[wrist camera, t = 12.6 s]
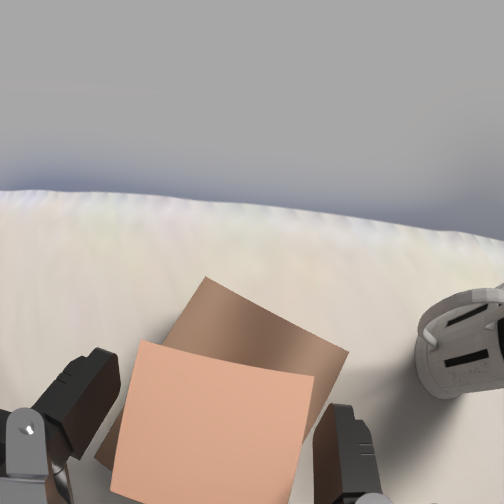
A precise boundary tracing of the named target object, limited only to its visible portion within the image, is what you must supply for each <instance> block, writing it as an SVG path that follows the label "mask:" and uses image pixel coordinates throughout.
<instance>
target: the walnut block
mask: <svg viewBox="0 0 504 504" xmlns="http://www.w3.org/2000/svg"><path fill="white" fill-rule="evenodd" d="M162 346H165V347H169V348H173V349H177V350H180V351H184V352H188V353H192V354H197V355H201V356H205V357H209V358H214V359H218V360H223V361H227V362H232V363H237V364H242V365H247V366H252V367H258V368H263V369H269V370H275V371H281V372H287V373H294V374H301V375H308V376H314V382H313V388H312V394H311V400H310V405H309V411H308V416H307V421H306V426H305V431H304V436H303V441H302V444H303V442H304V440H305V439H306V437H307V435H308V433H309V431H310V430H311V428H312V426H313V424H314V422H315V421H316V419H317V417H318V415H319V413H320V411H321V409H322V407H323V406H324V404H325V402H326V400H327V398H328V396H329V394H330V392H331V390H332V388H333V386H334V384H335V382H336V379H337V377H338V375H339V373H340V371H341V369H342V367H343V365H344V362H345V360H346V358H347V356H348V353H349V352H348V351H346V350H344V349H342V348H340V347H338V346H336V345H334V344H332V343H330V342H328V341H326V340H324V339H322V338H320V337H318V336H316V335H314V334H312V333H310V332H308V331H306V330H304V329H302V328H300V327H298V326H296V325H294V324H292V323H291V322H289V321H287V320H285V319H283V318H281V317H279V316H277V315H275V314H273V313H271V312H270V311H268V310H266V309H264V308H262V307H260V306H258V305H256V304H255V303H253V302H251V301H249V300H247V299H245V298H244V297H242V296H240V295H238V294H236V293H234V292H233V291H231V290H229V289H227V288H225V287H224V286H222V285H220V284H218V283H216V282H215V281H213V280H211V279H209V278H207V277H206V276H205V278H204V279H203V281H202V282H201V284H200V285H199V287H198V289H197V290H196V292H195V293H194V295H193V296H192V298H191V299H190V301H189V303H188V304H187V306H186V307H185V309H184V310H183V312H182V314H181V315H180V317H179V318H178V320H177V321H176V323H175V325H174V326H173V328H172V329H171V331H170V332H169V334H168V336H167V337H166V339H165V340H164V342H163V344H162ZM124 408H125V405H124V407H123V409H122V410H121V412H120V414H119V415H118V417H117V419H116V420H115V422H114V424H113V425H112V427H111V429H110V431H109V432H108V434H107V436H106V437H105V439H104V441H103V442H102V444H101V446H100V448H99V449H98V451H97V453H96V455H95V456H94V458H95V459H97V460H98V461H99V462H101V463H102V464H103V465H104V466H106V467H107V468H109V469H110V470H111V471H113V467H114V461H115V455H116V449H117V443H118V438H119V432H120V427H121V422H122V417H123V412H124Z"/></svg>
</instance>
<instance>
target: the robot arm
mask: <svg viewBox="0 0 504 504" xmlns="http://www.w3.org/2000/svg"><path fill="white" fill-rule="evenodd" d="M120 387H121V381H120V373H119V365H118V357H117V355H116V354H115V353H112V352H109V351H107V350H104V349H101V348H98V347H97V348H95V349H94V350H93V351H92V352H91V354H90V355H89V356H88V357H84V356H80V357H78V358H77V359H75V360H73V361H71V362H70V363H69V364H68V365H67V366H66V367H65V369H64V370H63V372H62V373H60V374H59V376H58V377H57V378H56V380H54V381H53V383H52V384H51V385H50V386H49V387H48V388H47V390H46V391H45V392H44V393H43V394H42V396H41V397H40V398H39V399H38V400H37V402H36V403H35V404H34V405H33V406H32V407H31V408H19V409H17V410H15V411H13V412H9V411H5V410H2V409H0V504H75V503H74V499H73V494H72V490H71V485H70V480H69V474H68V469H67V464H66V461H67V460H68V458H69V456H72V457H74V458H76V459H78V460H80V459H81V457H82V455H83V454H84V452H85V450H86V449H87V447H88V445H89V444H90V442H91V440H92V438H93V437H94V435H95V433H96V432H97V430H98V428H99V427H100V425H101V423H102V422H103V420H104V418H105V417H106V415H107V413H108V412H109V410H110V408H111V407H112V405H113V404H114V402H115V400H116V399H117V397H118V395H119V392H120ZM313 471H314V504H393V503H392V501H391V500H390V499H389V498H388V497H386V496H385V495H383V493H382V490H381V485H380V479H379V474H378V469H377V463H376V458H375V455H374V448H373V446H372V438H371V434H370V431H369V429H368V428H367V426H366V425H365V423H364V422H363V420H355V417H354V412H353V408H352V406H351V405H343V404H332V403H331V404H329V405H328V407H327V409H326V411H325V413H324V414H323V416H322V418H321V420H320V422H319V423H318V425H317V427H316V429H315V432H314V436H313Z"/></svg>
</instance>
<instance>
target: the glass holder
mask: <svg viewBox="0 0 504 504" xmlns="http://www.w3.org/2000/svg"><path fill="white" fill-rule="evenodd" d="M418 334H419V335H418V338H417V342H416V348H415V363H416V369H417V373H418V376H419V379H420V381H421V383H422V385H423V386H424V388H425V389H426V390H427V391H428V392H429V393H430V394H431V395H433V396H434V397H437V398H439V399H453V398H455V397H458V396H460V395H461V394H463V393H470V392H479V391H487V390H494V389H500V388H504V283H503V284H501V285H499V286H498V287H496V288H481V289H472V290H468V291H464V292H460V293H457V294H455V295H452V296H450V297H448V298H446V299H443V300H442V301H440V302H439V303H437V304H435V305H434V306H432V307H430V308H429V309H428V310H427V311H426V312H425V313H424V314H423V315H422V317H421V319H420V321H419V324H418Z"/></svg>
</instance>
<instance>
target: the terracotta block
mask: <svg viewBox="0 0 504 504" xmlns="http://www.w3.org/2000/svg"><path fill="white" fill-rule="evenodd" d="M313 382H314V376H308V375H301V374H294V373H287V372H281V371H275V370H269V369H263V368H258V367H252V366H247V365H242V364H237V363H232V362H227V361H223V360H218V359H214V358H209V357H205V356H201V355H197V354H192V353H188V352H184V351H180V350H177V349H173V348H169V347H165V346H162V345H158V344H155V343H151V342H148V341H144V340H141V341H140V345H139V349H138V353H137V356H136V360H135V364H134V368H133V373H132V377H131V381H130V385H129V390H128V394H127V398H126V403H125V408H124V412H123V417H122V422H121V427H120V432H119V438H118V443H117V449H116V455H115V461H114V467H113V473H112V480H111V487H110V491H112V492H114V493H117V494H119V495H122V496H125V497H127V498H130V499H133V500H136V501H138V502H141V503H144V504H288V500H289V496H290V493H291V489H292V485H293V481H294V476H295V472H296V468H297V464H298V459H299V455H300V450H301V446H302V441H303V436H304V431H305V426H306V421H307V416H308V411H309V405H310V400H311V394H312V388H313Z"/></svg>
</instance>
